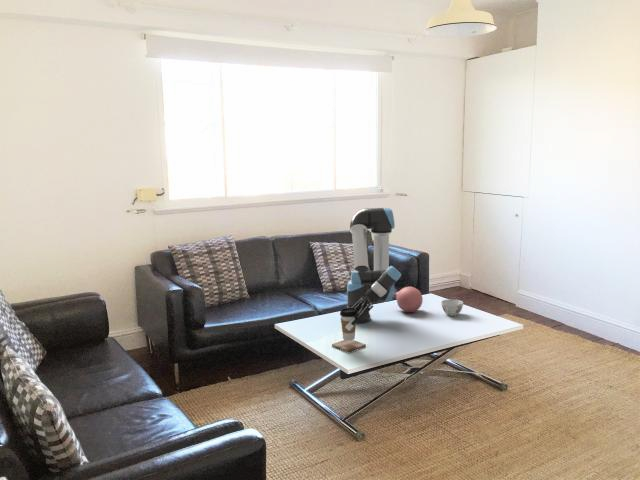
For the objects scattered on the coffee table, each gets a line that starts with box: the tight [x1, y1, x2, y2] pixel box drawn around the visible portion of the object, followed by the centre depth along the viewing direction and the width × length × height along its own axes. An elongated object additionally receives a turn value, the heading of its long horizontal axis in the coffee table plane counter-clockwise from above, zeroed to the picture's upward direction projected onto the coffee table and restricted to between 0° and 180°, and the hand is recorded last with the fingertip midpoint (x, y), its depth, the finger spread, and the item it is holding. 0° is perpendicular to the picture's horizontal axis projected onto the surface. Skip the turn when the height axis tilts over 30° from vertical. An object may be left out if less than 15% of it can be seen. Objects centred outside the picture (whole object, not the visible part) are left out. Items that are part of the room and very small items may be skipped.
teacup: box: [440, 299, 464, 317], centre depth 315 cm, size 15×12×8 cm
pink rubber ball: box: [393, 286, 424, 313], centre depth 324 cm, size 15×20×15 cm
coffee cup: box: [339, 307, 357, 340], centre depth 267 cm, size 8×8×15 cm
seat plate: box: [331, 339, 366, 353], centre depth 270 cm, size 12×12×1 cm
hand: (344, 326), depth 267 cm, fingers closed on coffee cup, 8 cm apart
